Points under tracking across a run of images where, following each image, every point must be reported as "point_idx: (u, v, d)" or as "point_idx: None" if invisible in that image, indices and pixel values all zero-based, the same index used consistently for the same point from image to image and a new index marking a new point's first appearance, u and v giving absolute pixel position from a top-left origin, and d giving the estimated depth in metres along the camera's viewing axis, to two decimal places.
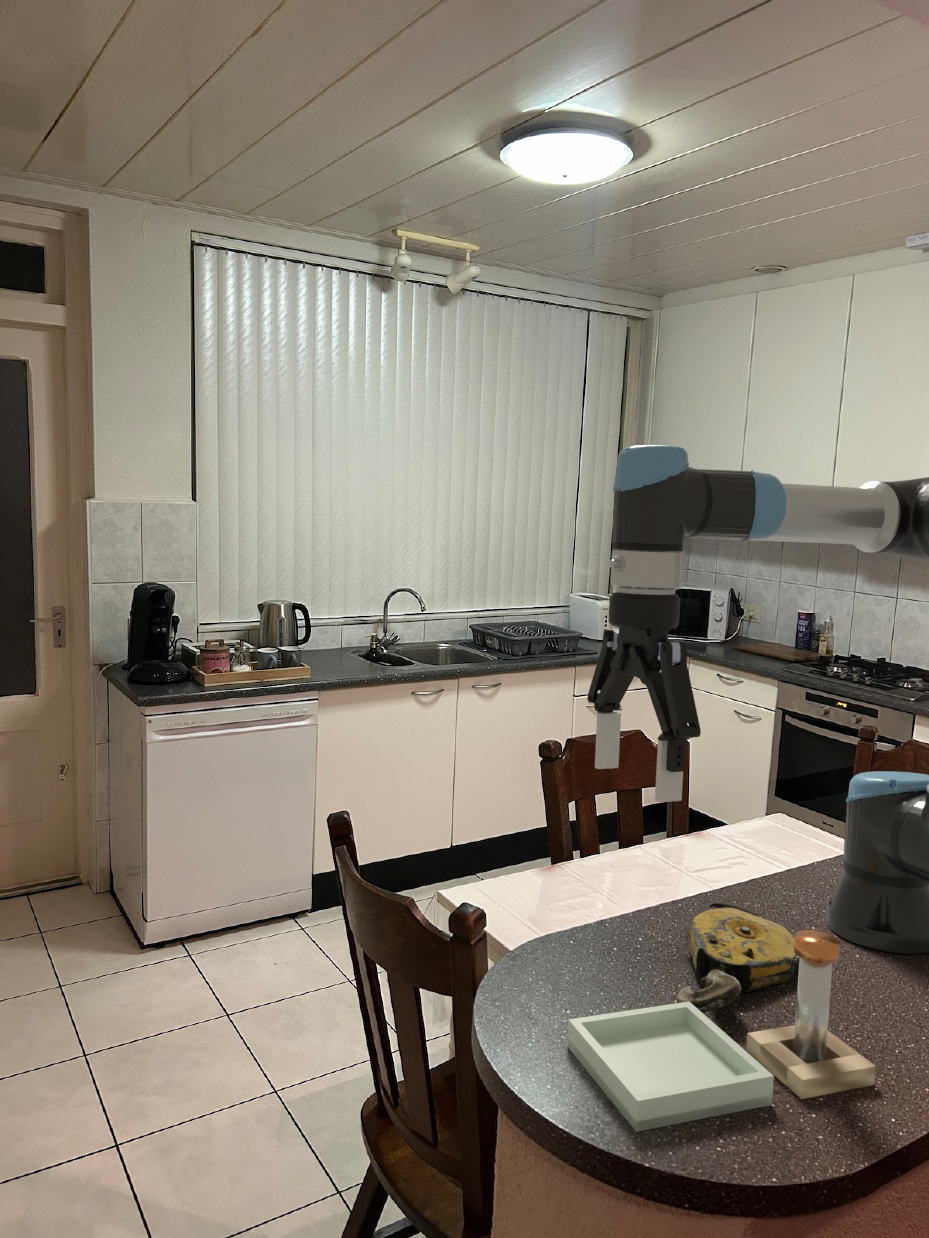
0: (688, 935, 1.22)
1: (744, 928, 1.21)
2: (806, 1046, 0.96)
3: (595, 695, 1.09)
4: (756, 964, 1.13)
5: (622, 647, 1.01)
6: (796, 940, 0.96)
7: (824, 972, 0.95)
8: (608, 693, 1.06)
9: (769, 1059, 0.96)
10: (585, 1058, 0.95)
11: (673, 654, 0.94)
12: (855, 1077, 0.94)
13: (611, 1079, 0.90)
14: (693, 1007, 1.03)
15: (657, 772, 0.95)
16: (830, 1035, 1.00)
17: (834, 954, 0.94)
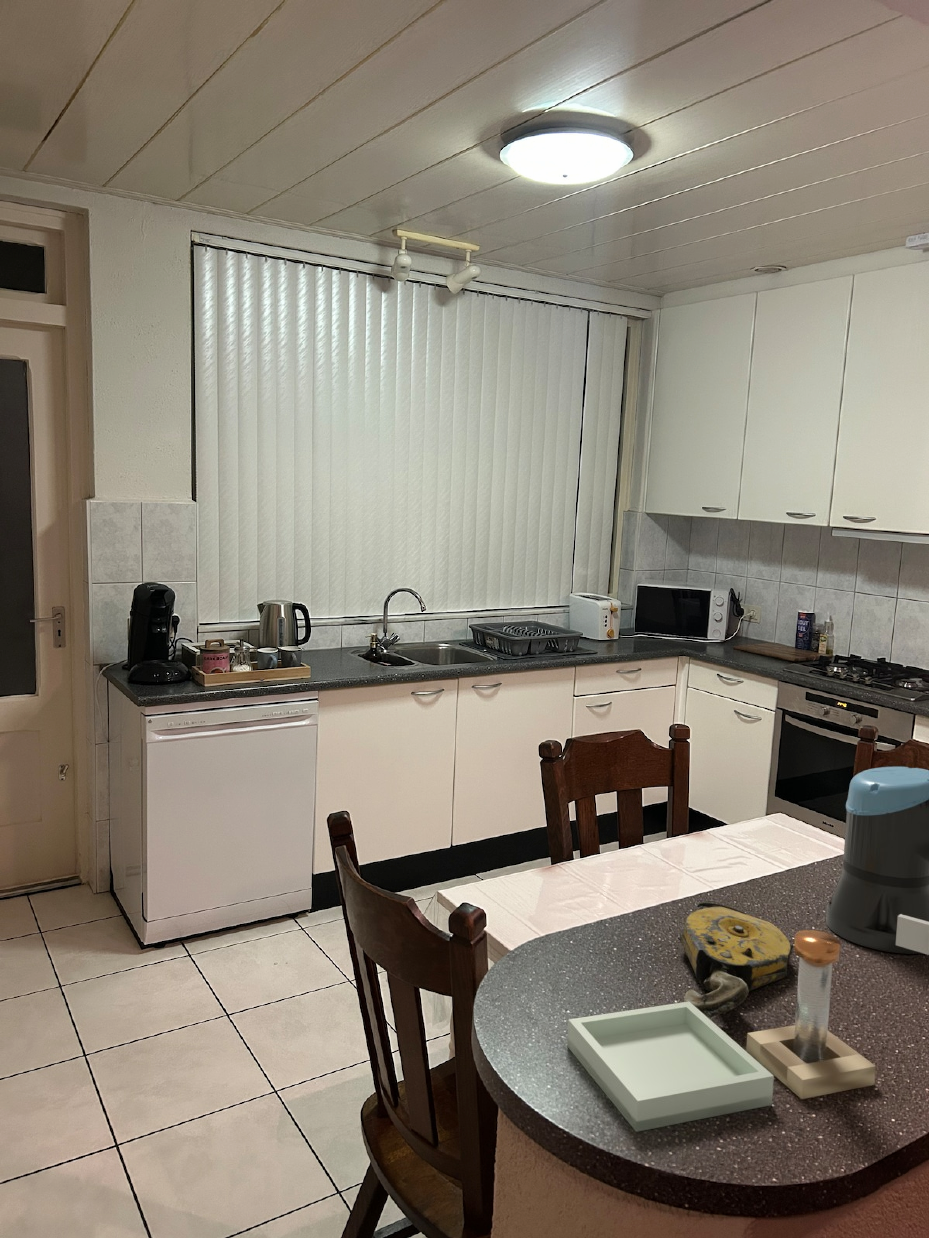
0: (683, 936, 1.22)
1: (737, 927, 1.22)
2: (807, 1046, 0.96)
3: None
4: (757, 964, 1.13)
5: None
6: (796, 940, 0.96)
7: (824, 972, 0.95)
8: None
9: (769, 1059, 0.96)
10: (585, 1058, 0.95)
11: None
12: (855, 1077, 0.94)
13: (611, 1079, 0.90)
14: (693, 1007, 1.03)
15: None
16: (830, 1035, 1.00)
17: (834, 954, 0.94)
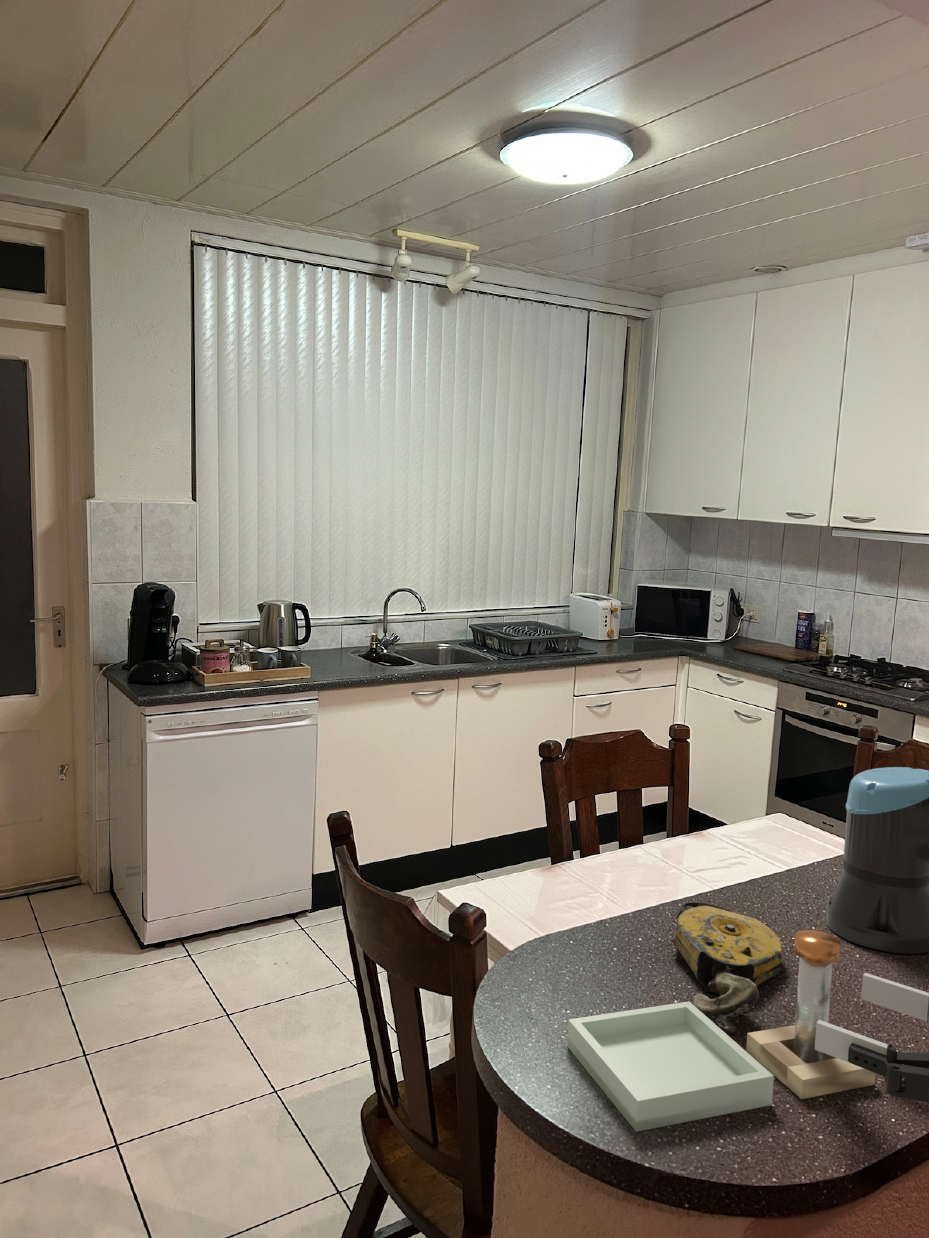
0: (677, 938, 1.21)
1: (729, 926, 1.22)
2: (807, 1046, 0.96)
3: (902, 1087, 0.82)
4: (757, 962, 1.13)
5: None
6: (796, 940, 0.96)
7: (824, 972, 0.95)
8: None
9: (769, 1059, 0.96)
10: (585, 1058, 0.95)
11: None
12: (855, 1077, 0.94)
13: (611, 1079, 0.90)
14: (693, 1007, 1.03)
15: None
16: None
17: (834, 954, 0.94)
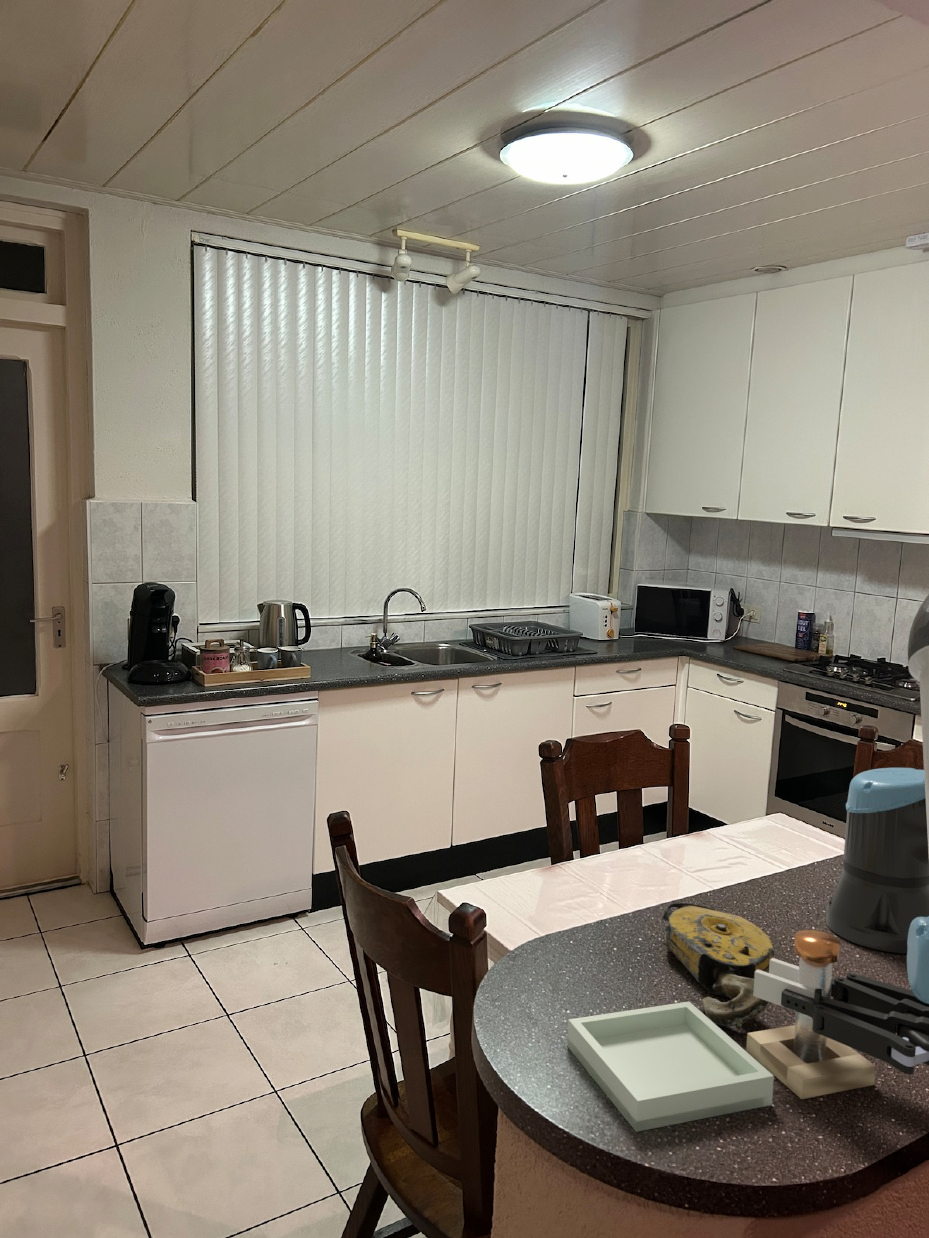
0: (671, 941, 1.20)
1: (720, 925, 1.22)
2: (807, 1046, 0.96)
3: None
4: (757, 961, 1.14)
5: None
6: (796, 940, 0.96)
7: (824, 972, 0.95)
8: None
9: (769, 1059, 0.96)
10: (585, 1058, 0.95)
11: None
12: (855, 1077, 0.94)
13: (611, 1079, 0.90)
14: (693, 1007, 1.03)
15: None
16: None
17: (834, 954, 0.94)
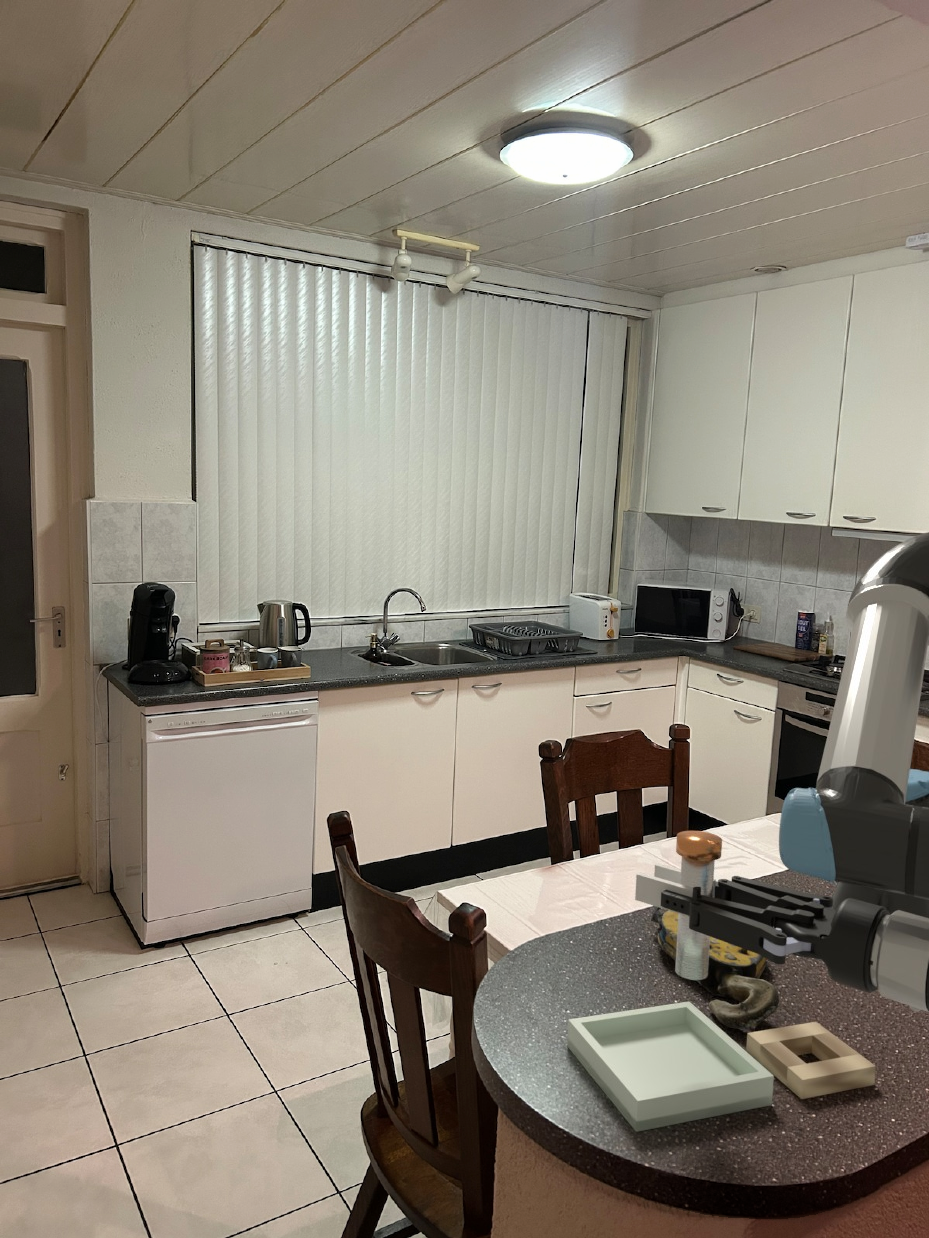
0: (667, 944, 1.19)
1: None
2: (688, 949, 0.92)
3: None
4: (757, 960, 1.14)
5: None
6: (677, 839, 0.92)
7: (705, 870, 0.91)
8: None
9: (769, 1059, 0.96)
10: (585, 1058, 0.95)
11: None
12: (855, 1077, 0.94)
13: (611, 1079, 0.90)
14: (693, 1007, 1.03)
15: None
16: (830, 1035, 1.00)
17: (715, 851, 0.91)
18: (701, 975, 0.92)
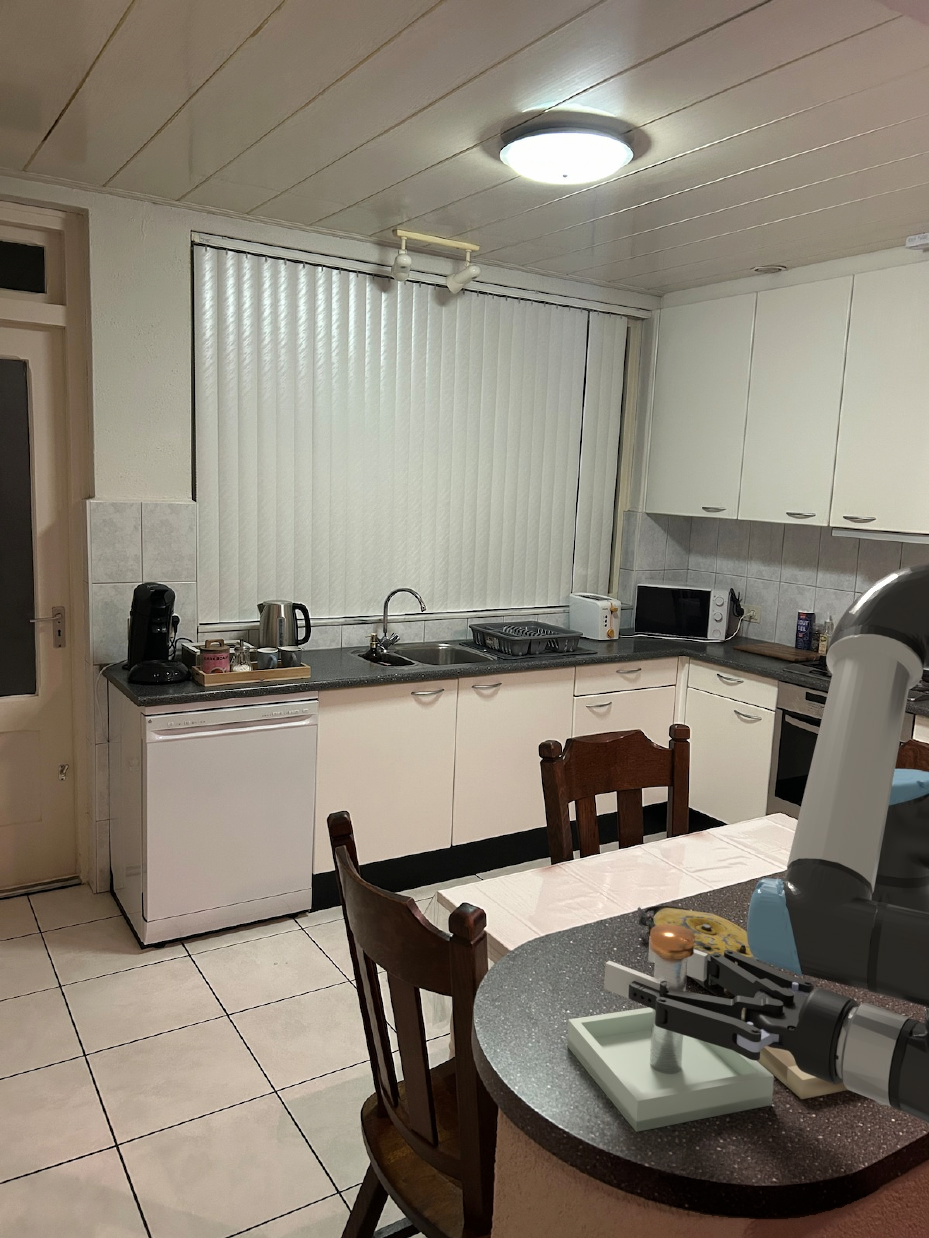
0: None
1: (706, 926, 1.22)
2: (661, 1043, 0.93)
3: None
4: (757, 959, 1.14)
5: None
6: (650, 935, 0.94)
7: (678, 967, 0.92)
8: None
9: (769, 1059, 0.96)
10: (585, 1058, 0.95)
11: None
12: None
13: (611, 1079, 0.90)
14: None
15: None
16: None
17: (687, 949, 0.92)
18: (674, 1069, 0.93)
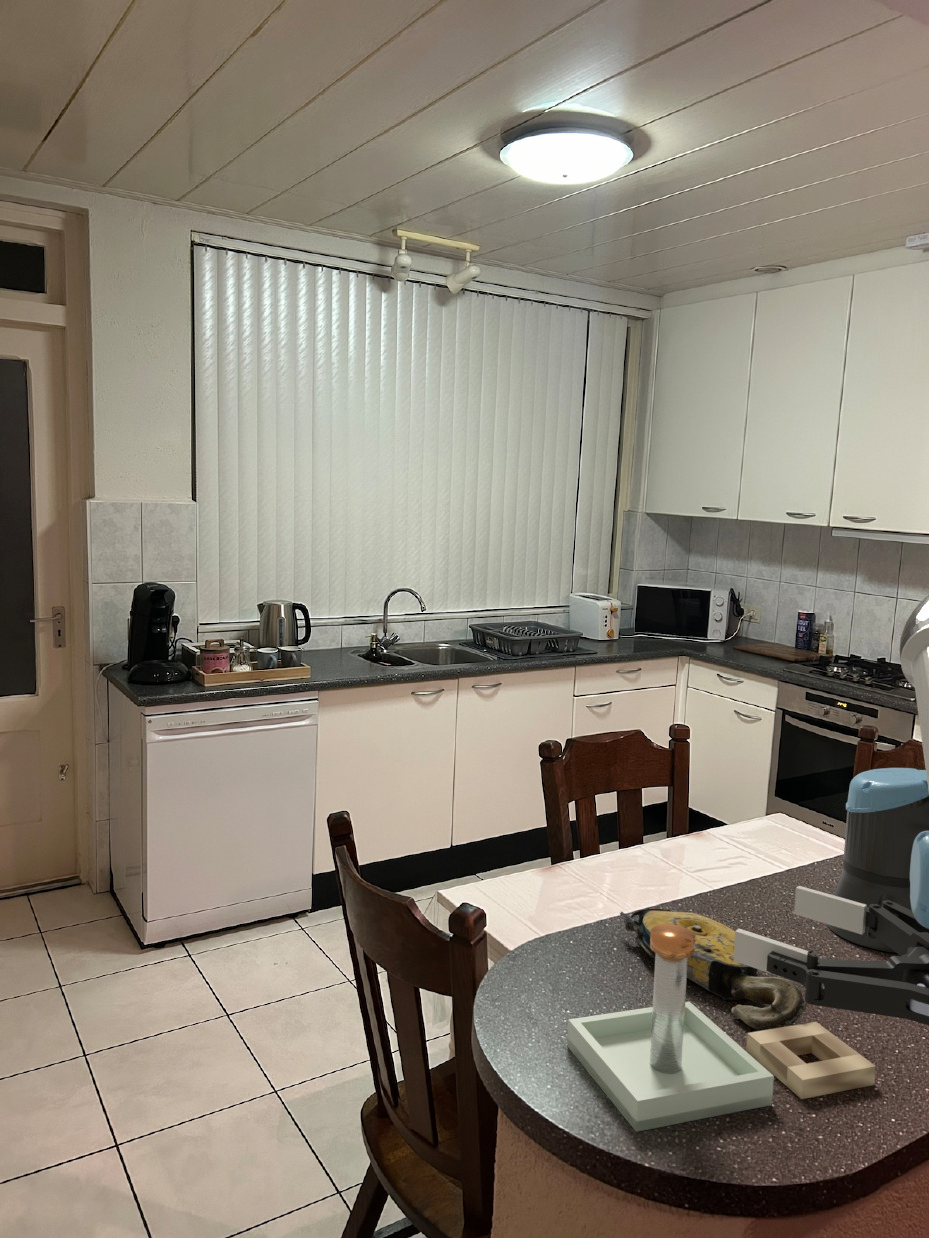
0: None
1: (697, 927, 1.21)
2: (661, 1043, 0.93)
3: None
4: None
5: None
6: (651, 934, 0.94)
7: (678, 967, 0.92)
8: None
9: (769, 1059, 0.96)
10: (585, 1058, 0.95)
11: None
12: (855, 1077, 0.94)
13: (611, 1079, 0.90)
14: (693, 1007, 1.03)
15: None
16: (830, 1035, 1.00)
17: (687, 949, 0.92)
18: (674, 1069, 0.93)
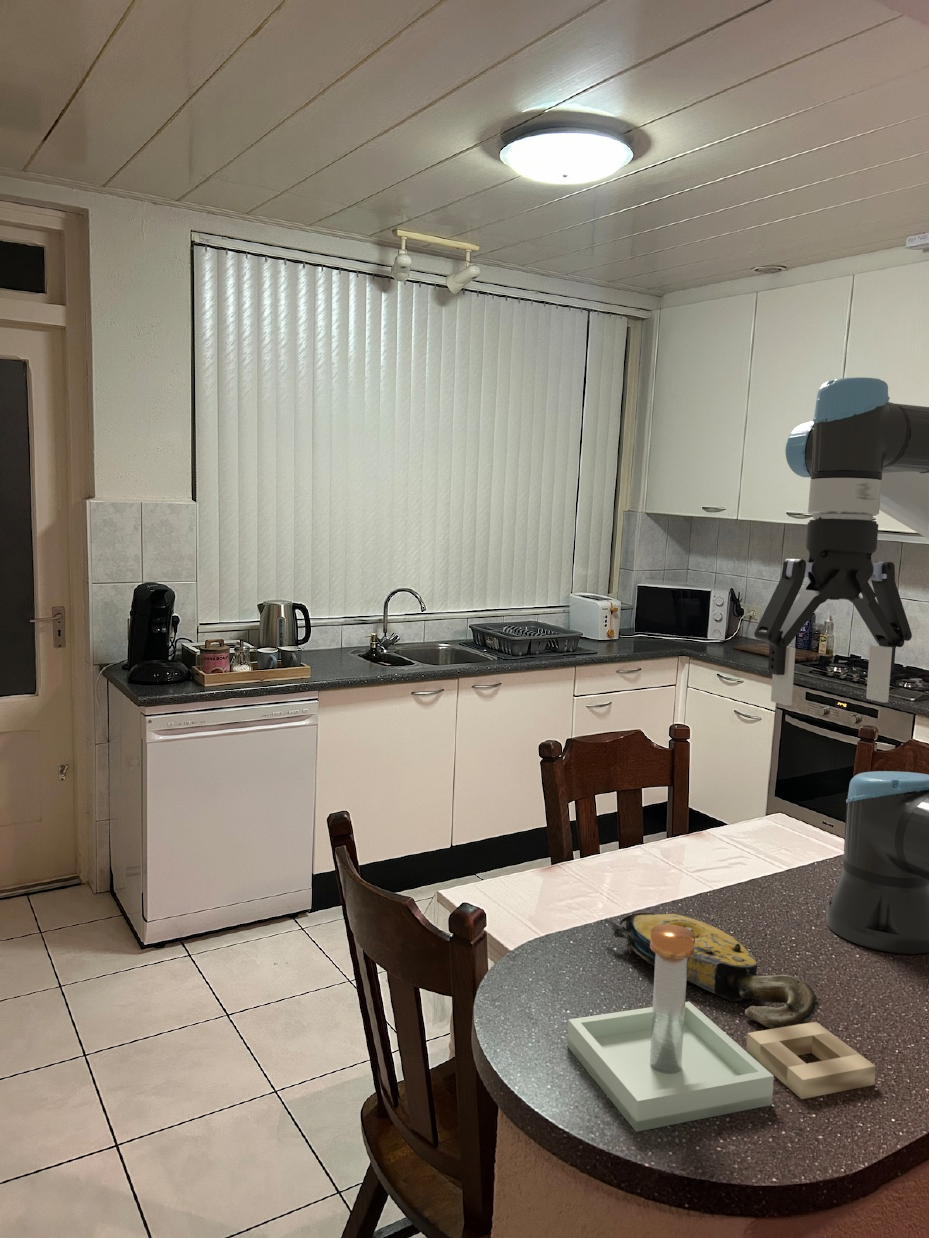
0: None
1: None
2: (661, 1043, 0.93)
3: None
4: None
5: (844, 573, 1.04)
6: (651, 934, 0.94)
7: (678, 967, 0.92)
8: (802, 624, 1.04)
9: (769, 1059, 0.96)
10: (585, 1058, 0.95)
11: None
12: (855, 1077, 0.94)
13: (611, 1079, 0.90)
14: (693, 1007, 1.03)
15: (886, 677, 1.08)
16: (830, 1035, 1.00)
17: (687, 949, 0.92)
18: (674, 1069, 0.93)
